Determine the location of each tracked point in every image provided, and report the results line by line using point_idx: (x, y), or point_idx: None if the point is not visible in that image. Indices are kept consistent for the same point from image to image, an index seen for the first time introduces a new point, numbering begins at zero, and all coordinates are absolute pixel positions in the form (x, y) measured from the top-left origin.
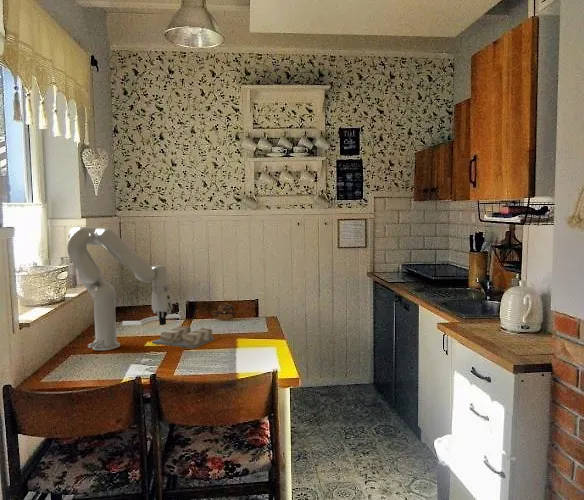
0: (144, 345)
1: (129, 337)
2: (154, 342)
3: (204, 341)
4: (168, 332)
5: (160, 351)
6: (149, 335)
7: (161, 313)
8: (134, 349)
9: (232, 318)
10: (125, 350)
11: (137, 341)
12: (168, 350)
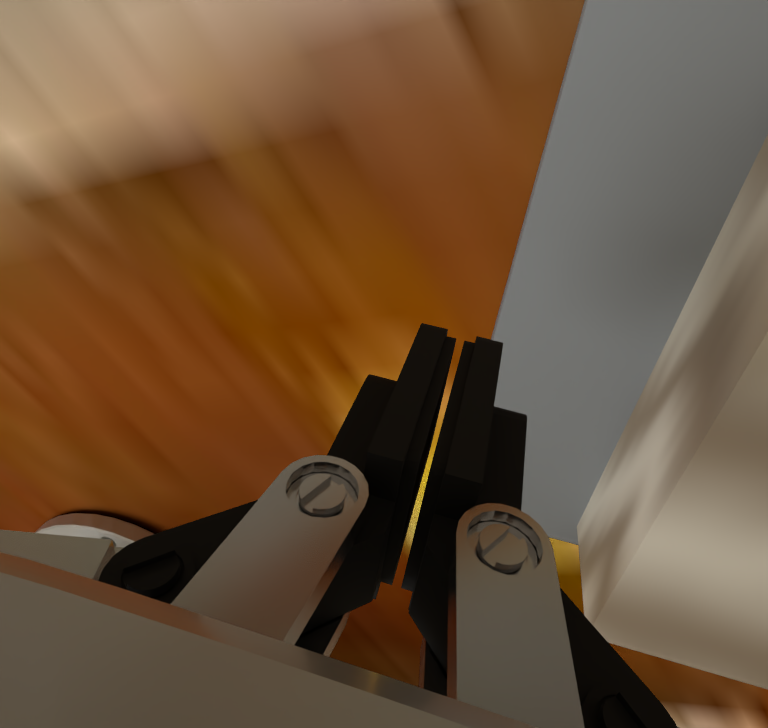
0: (408, 549)
1: (5, 276)
2: None
3: None
4: (720, 622)
5: (682, 706)
6: (144, 116)
7: (295, 577)
8: (395, 642)
9: None
10: (339, 657)
11: (230, 425)
12: (765, 692)
